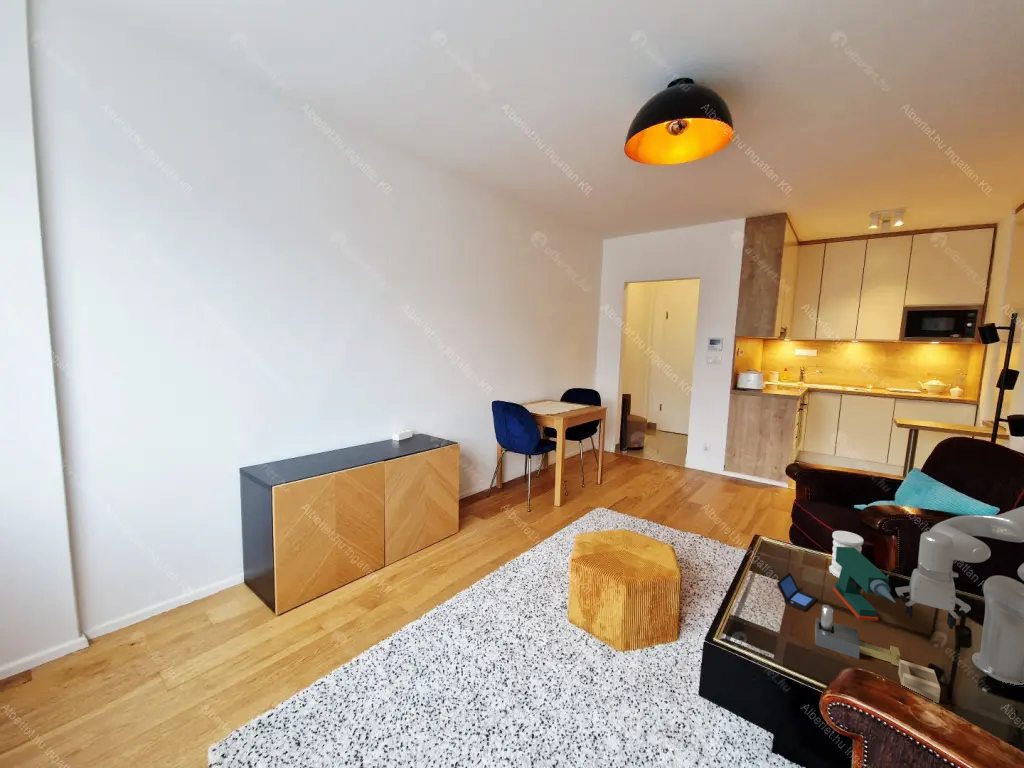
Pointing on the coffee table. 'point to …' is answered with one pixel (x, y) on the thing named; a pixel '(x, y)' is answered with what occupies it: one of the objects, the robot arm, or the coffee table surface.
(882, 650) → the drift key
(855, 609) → the power tool
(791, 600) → the handheld game console
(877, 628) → the coffee table surface
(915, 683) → the beige open box
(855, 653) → the socket block
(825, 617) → the grey peg
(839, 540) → the decorative container
